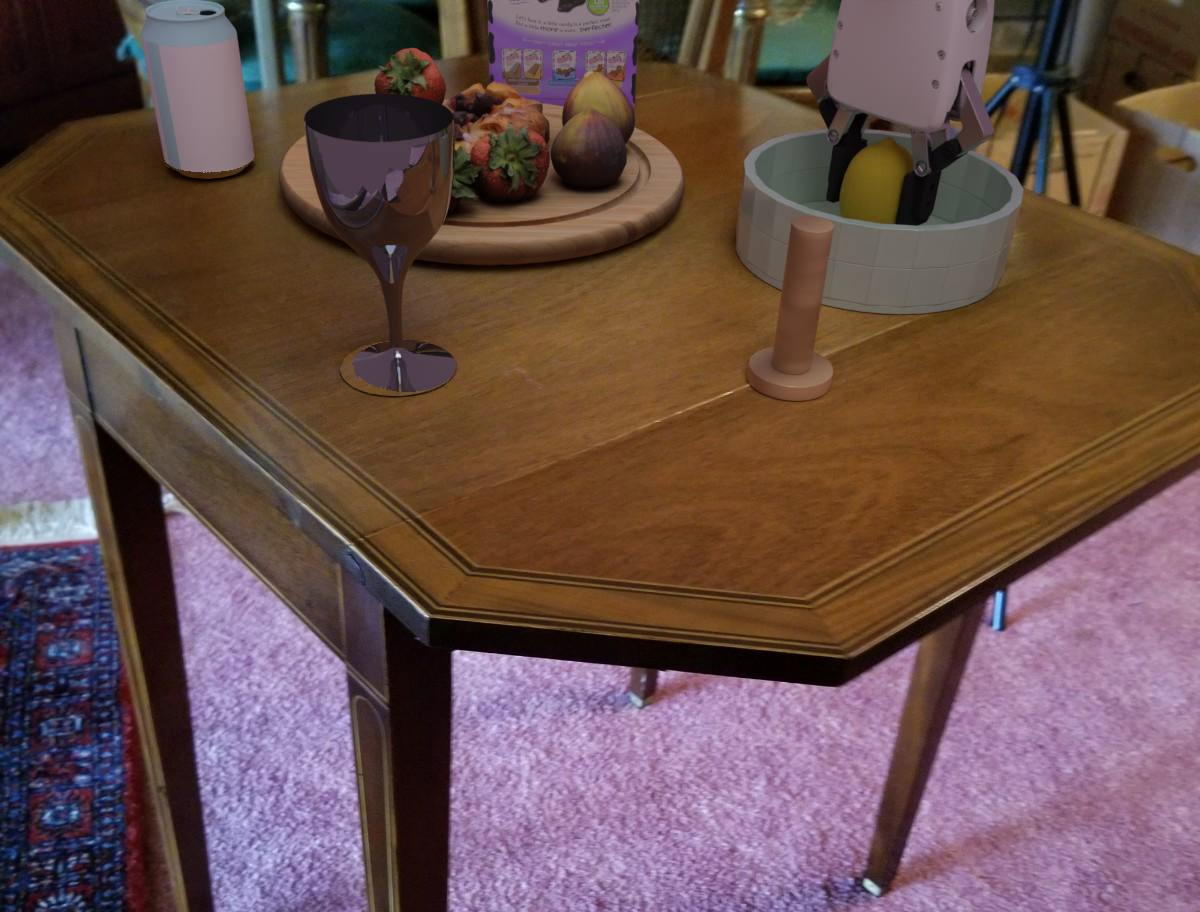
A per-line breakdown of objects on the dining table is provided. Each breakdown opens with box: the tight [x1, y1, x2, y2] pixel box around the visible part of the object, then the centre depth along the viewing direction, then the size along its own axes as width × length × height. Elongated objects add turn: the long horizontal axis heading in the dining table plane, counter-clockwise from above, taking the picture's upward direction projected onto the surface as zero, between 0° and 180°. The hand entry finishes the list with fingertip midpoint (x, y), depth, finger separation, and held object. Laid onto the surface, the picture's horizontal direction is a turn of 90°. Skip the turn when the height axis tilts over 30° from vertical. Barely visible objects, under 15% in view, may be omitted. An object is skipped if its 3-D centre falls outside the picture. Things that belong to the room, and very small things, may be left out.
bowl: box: [735, 128, 1025, 315], centre depth 88 cm, size 20×20×6 cm
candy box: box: [486, 0, 640, 109], centre depth 110 cm, size 14×6×16 cm, turn 91°
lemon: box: [839, 137, 914, 224], centre depth 87 cm, size 6×6×8 cm
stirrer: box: [746, 216, 834, 402], centre depth 71 cm, size 5×5×10 cm
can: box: [139, 0, 255, 173], centre depth 95 cm, size 7×7×12 cm
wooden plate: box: [278, 47, 686, 266], centre depth 94 cm, size 32×32×8 cm
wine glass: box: [303, 93, 458, 392], centre depth 69 cm, size 8×8×15 cm
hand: (876, 209), depth 87 cm, fingers closed on lemon, 5 cm apart
